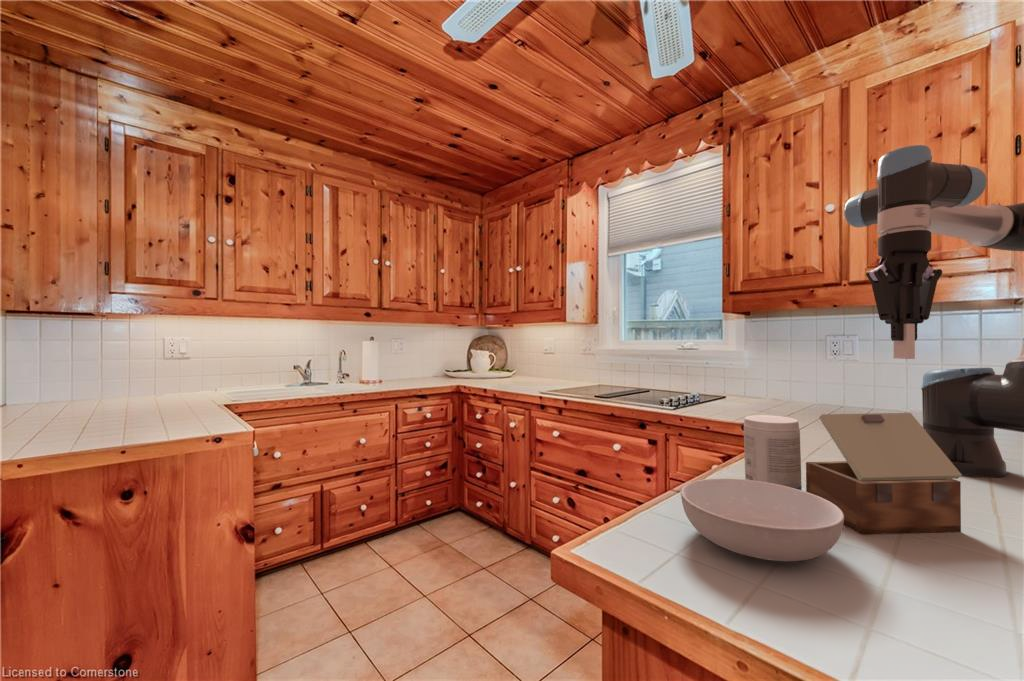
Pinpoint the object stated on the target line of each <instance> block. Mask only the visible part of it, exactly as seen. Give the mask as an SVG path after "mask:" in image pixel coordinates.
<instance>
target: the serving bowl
mask: <svg viewBox="0 0 1024 681" xmlns="http://www.w3.org/2000/svg"><path fill="white" fill-rule="evenodd" d="M680 498H681V502H682V506H683V510H684V513H685V515H686V517H687V520H689V522H690V524H691V525H692V526H693V528H695V530H696V531H697V532H698V533H699V534H701V535H702V536H703V537H704V538H706V539H707V540H708V541H710V542H711V543H713V544H716V545H717V546H719V547H721V548H723V549H726V550H728V551H731V552H733V553H737V554H740V555H743V556H747V557H749V558H750V557H751V558H756V559H760V560H767V561H775V562H796V561H797V562H799V561H805V560H810V559H814V558H818V557H820V556H822V555H823V554H826V553H827V552H828V551H830V550H831V549H832V548H833V547H834V546H835V545H836V544H837V542H838V541H839V539H840V537H841V534H842V532H843V527H844V525H843V523H844V514H843V512H842V511H841V510H840V509H839V508H838V507H837V506H836V505H834V504H833V503H831V502H829V501H828V500H826V499H823V498H821V497H819V496H816V495H814V494H811V493H808V492H806V490H798V489H795V488H791V487H787V486H783V485H778V484H773V483H767V482H760V481H753V480H745V478H744V479H743V478H728V477H727V478H726V477H725V478H724V477H722V478H720V477H719V478H706V479H705V478H704V479H699V480H694V481H691V482H688V483H687V484H685V485H683V487H682V488H681V490H680Z"/></svg>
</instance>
